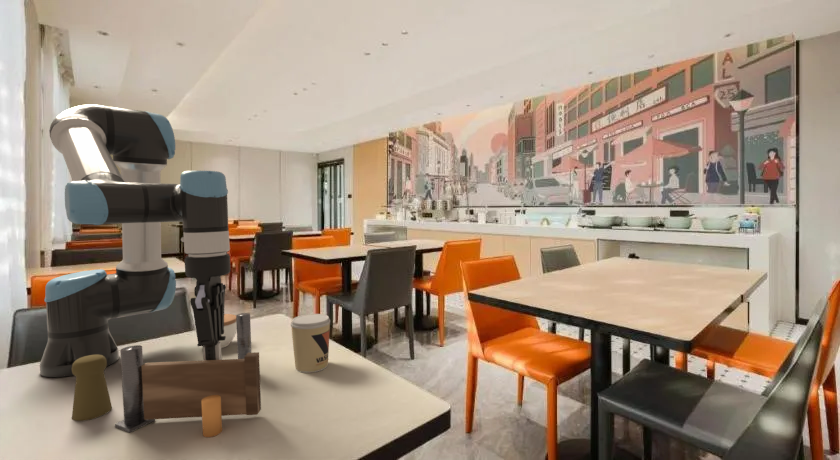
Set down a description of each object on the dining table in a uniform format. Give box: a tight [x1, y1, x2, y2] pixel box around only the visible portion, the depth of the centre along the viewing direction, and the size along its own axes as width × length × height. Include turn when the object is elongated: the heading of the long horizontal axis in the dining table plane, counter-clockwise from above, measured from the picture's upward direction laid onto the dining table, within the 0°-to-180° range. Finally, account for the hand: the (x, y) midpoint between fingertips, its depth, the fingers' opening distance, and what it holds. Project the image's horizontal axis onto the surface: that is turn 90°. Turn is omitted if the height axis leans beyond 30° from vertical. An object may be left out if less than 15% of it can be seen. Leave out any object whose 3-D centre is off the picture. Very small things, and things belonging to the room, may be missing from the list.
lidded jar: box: [195, 313, 237, 349], centre depth 114 cm, size 11×11×9 cm
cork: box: [71, 355, 113, 422], centre depth 77 cm, size 6×6×11 cm
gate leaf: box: [142, 351, 262, 420], centre depth 74 cm, size 2×20×11 cm, turn 95°
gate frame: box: [114, 312, 252, 433], centre depth 83 cm, size 4×28×14 cm, turn 155°
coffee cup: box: [290, 313, 331, 374], centre depth 98 cm, size 9×9×12 cm
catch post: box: [201, 395, 223, 438], centre depth 70 cm, size 3×3×6 cm
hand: (213, 376), depth 77 cm, fingers closed
